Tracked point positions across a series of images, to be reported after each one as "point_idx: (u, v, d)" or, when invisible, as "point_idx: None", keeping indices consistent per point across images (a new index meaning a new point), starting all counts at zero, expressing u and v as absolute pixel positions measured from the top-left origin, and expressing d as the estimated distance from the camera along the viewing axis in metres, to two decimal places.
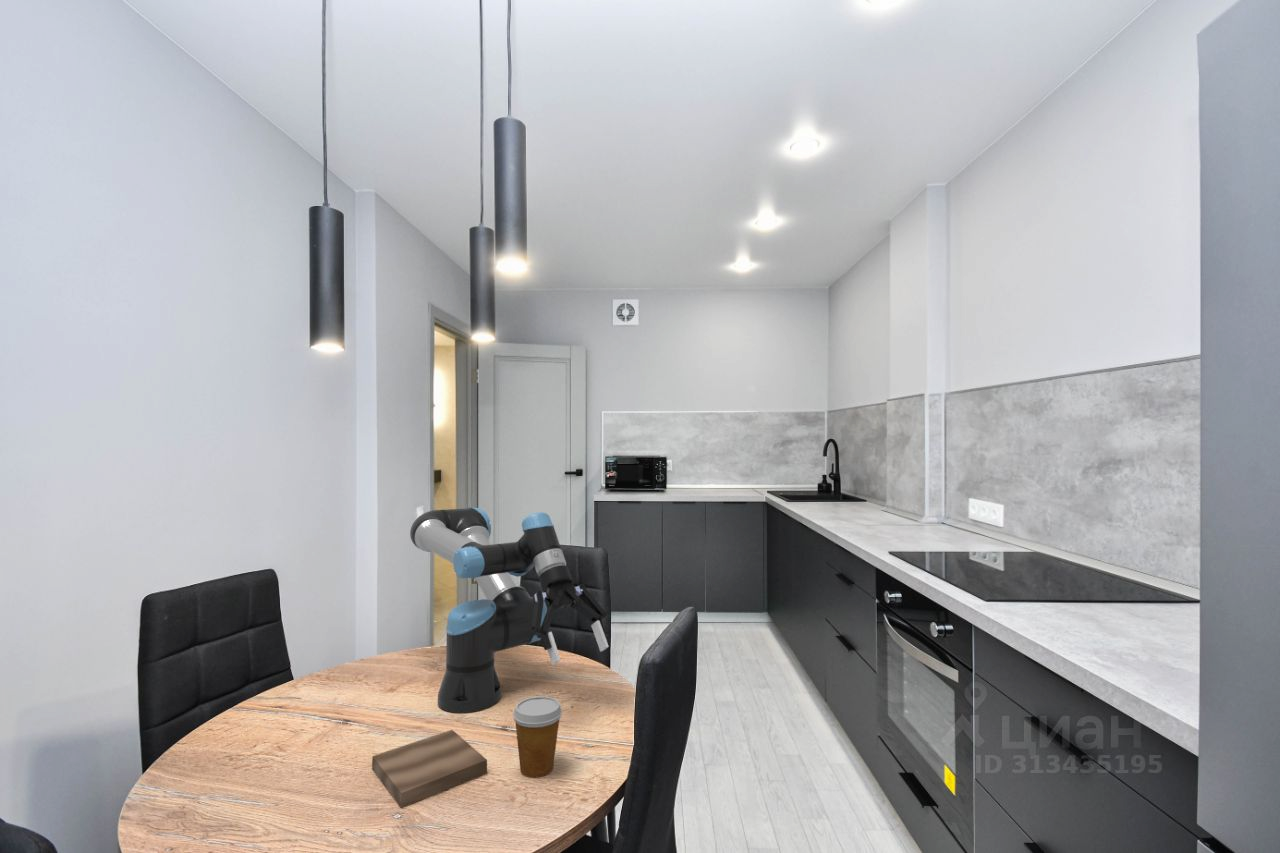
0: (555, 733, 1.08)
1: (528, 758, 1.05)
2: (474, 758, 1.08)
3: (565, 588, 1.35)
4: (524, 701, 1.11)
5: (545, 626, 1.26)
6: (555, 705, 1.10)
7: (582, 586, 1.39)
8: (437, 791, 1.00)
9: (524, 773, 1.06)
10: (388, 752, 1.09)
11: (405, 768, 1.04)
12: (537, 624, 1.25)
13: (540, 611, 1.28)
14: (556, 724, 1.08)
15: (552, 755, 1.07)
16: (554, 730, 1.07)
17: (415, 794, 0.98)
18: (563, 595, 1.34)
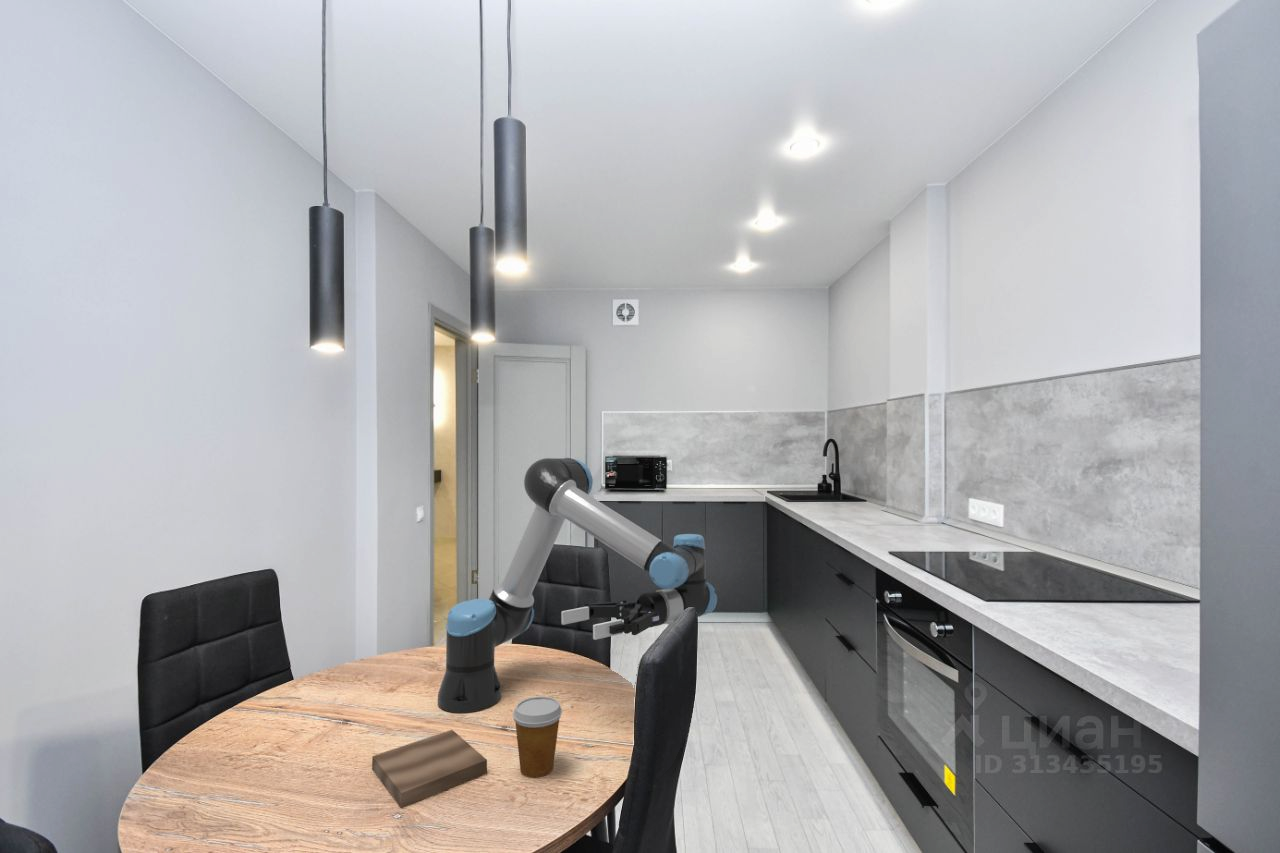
0: (555, 733, 1.08)
1: (528, 758, 1.05)
2: (474, 758, 1.08)
3: None
4: (524, 701, 1.11)
5: None
6: (555, 705, 1.10)
7: None
8: (437, 791, 1.00)
9: (524, 773, 1.06)
10: (388, 752, 1.09)
11: (405, 768, 1.04)
12: None
13: None
14: (556, 724, 1.08)
15: (552, 755, 1.07)
16: (554, 730, 1.07)
17: (415, 794, 0.98)
18: None
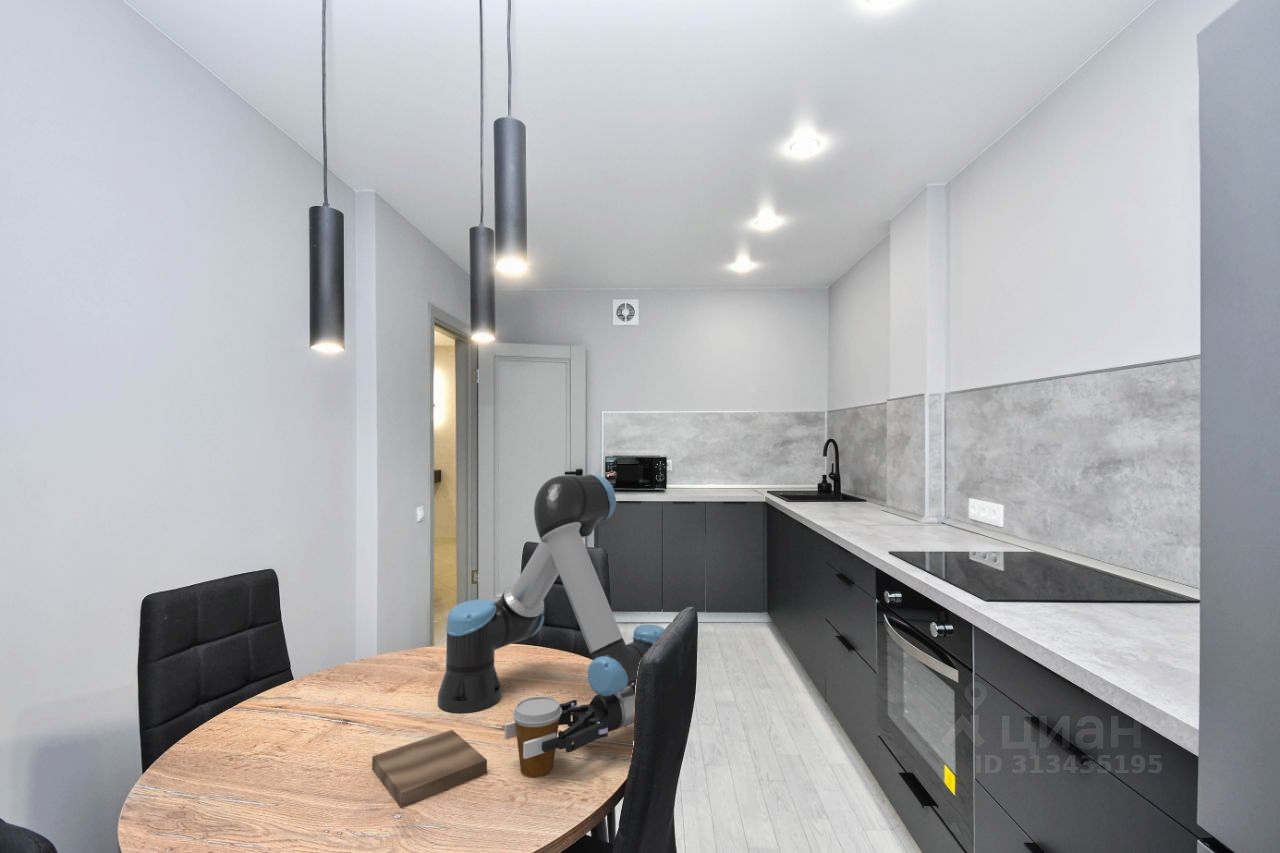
0: None
1: None
2: (474, 758, 1.08)
3: None
4: (524, 701, 1.12)
5: None
6: (555, 705, 1.10)
7: None
8: (437, 791, 1.00)
9: (524, 773, 1.06)
10: (388, 752, 1.09)
11: (405, 768, 1.04)
12: None
13: None
14: (556, 724, 1.08)
15: (552, 755, 1.07)
16: (554, 729, 1.07)
17: (415, 794, 0.98)
18: None
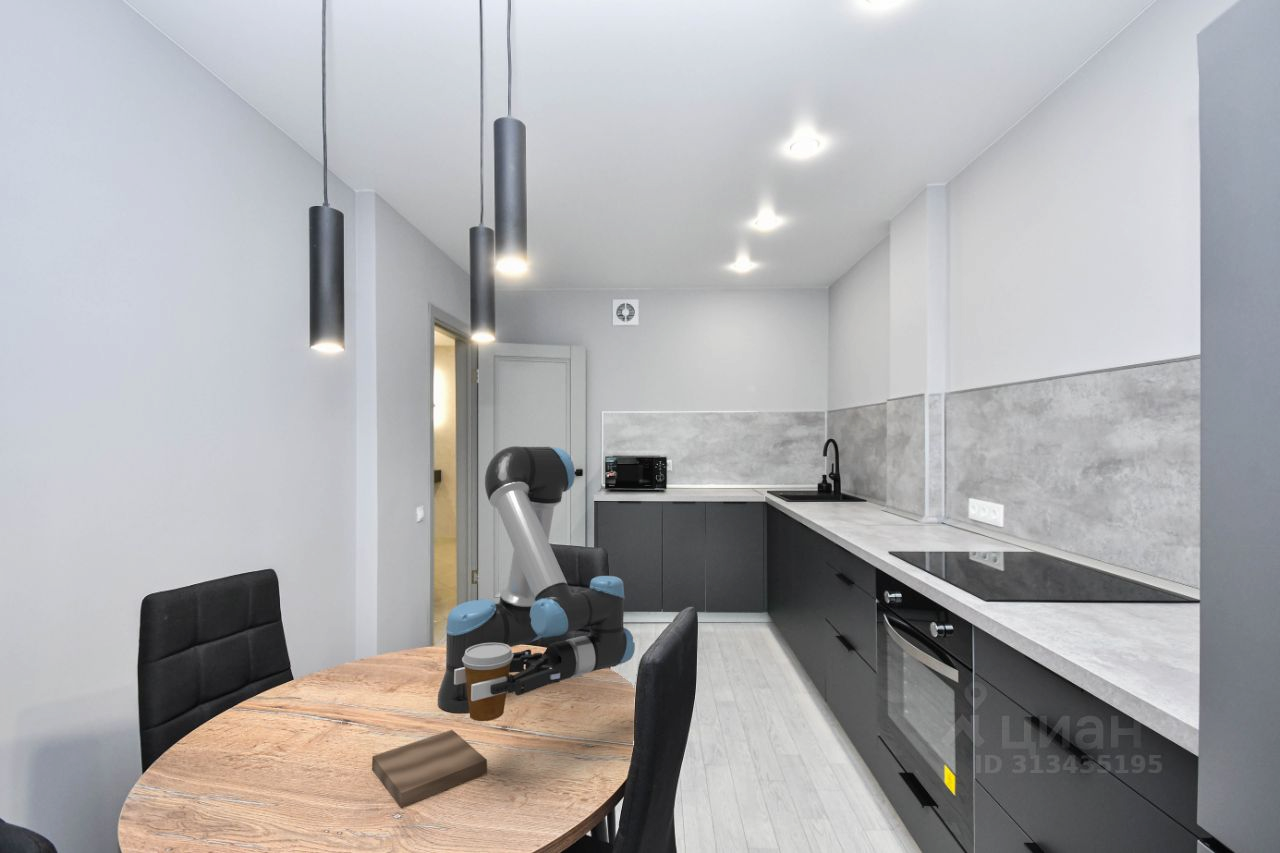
0: None
1: (477, 701, 1.03)
2: (474, 758, 1.08)
3: None
4: (475, 647, 1.09)
5: None
6: (506, 650, 1.08)
7: None
8: (437, 791, 1.00)
9: (473, 717, 1.04)
10: (388, 752, 1.09)
11: (405, 768, 1.04)
12: None
13: None
14: (506, 668, 1.06)
15: (502, 699, 1.05)
16: (504, 673, 1.05)
17: (415, 794, 0.98)
18: None
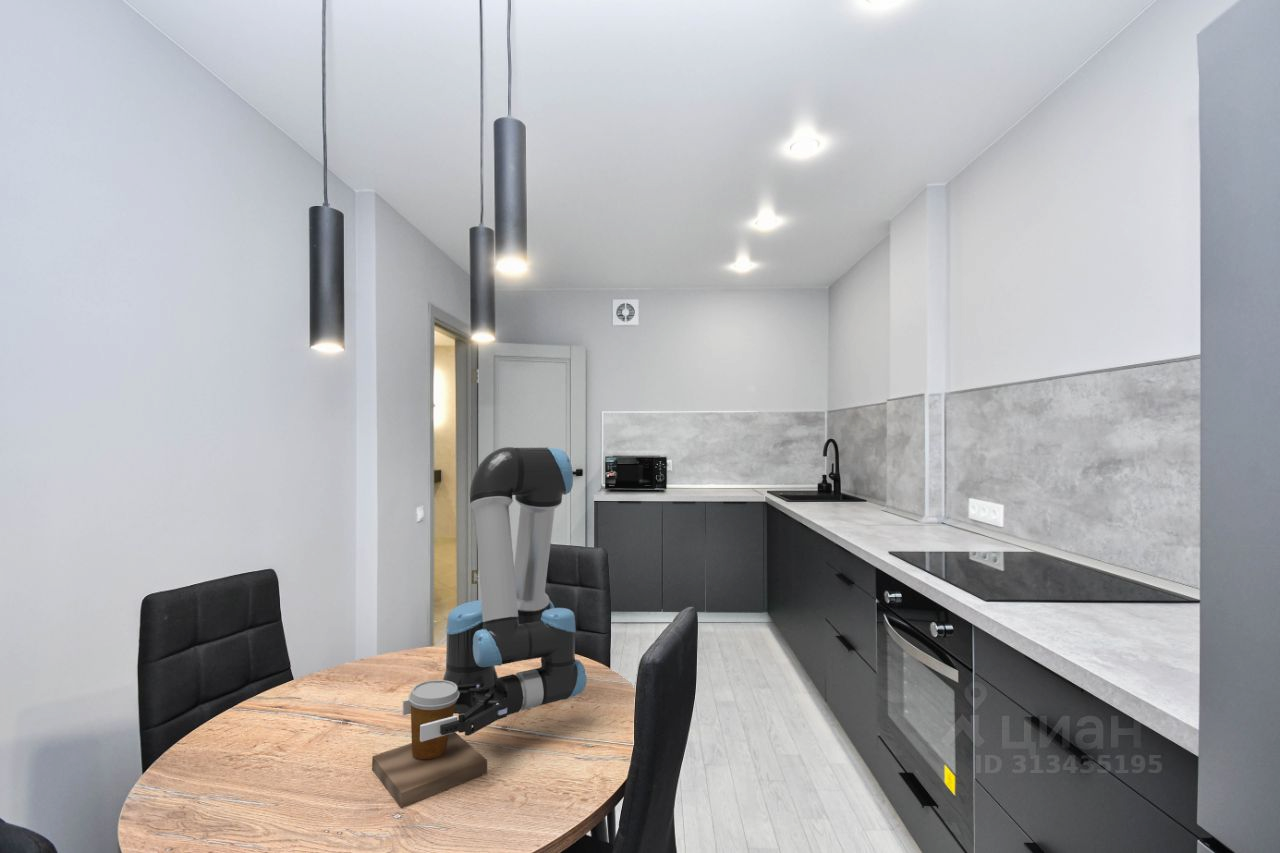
0: None
1: (419, 739, 1.07)
2: (474, 758, 1.08)
3: None
4: (424, 683, 1.13)
5: None
6: (453, 690, 1.11)
7: None
8: (437, 791, 1.00)
9: (414, 754, 1.07)
10: (388, 752, 1.09)
11: (405, 768, 1.04)
12: None
13: None
14: (450, 708, 1.09)
15: (444, 738, 1.09)
16: (448, 714, 1.08)
17: (415, 794, 0.98)
18: None
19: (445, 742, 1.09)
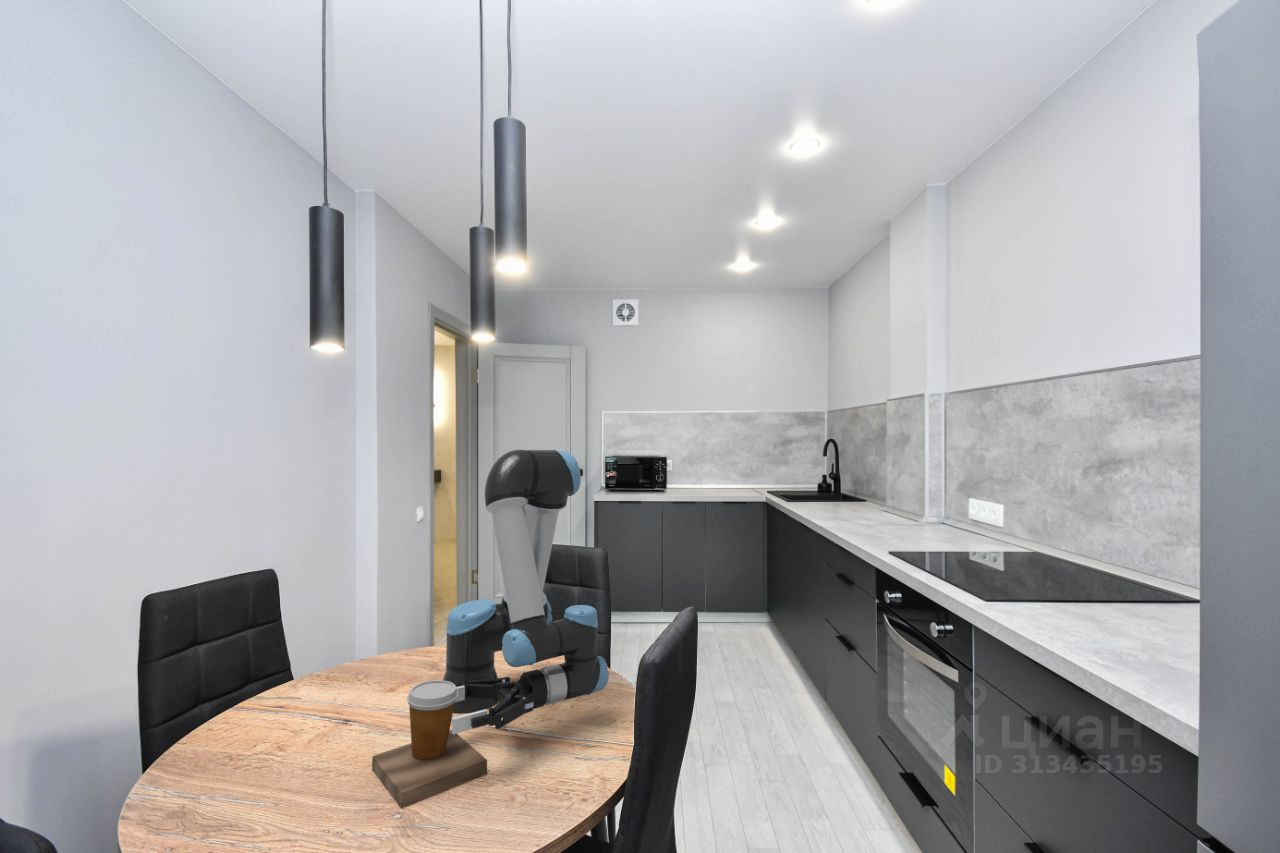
0: (448, 717, 1.09)
1: (418, 740, 1.07)
2: (474, 758, 1.08)
3: None
4: (422, 684, 1.13)
5: None
6: (451, 690, 1.11)
7: None
8: (437, 791, 1.00)
9: (414, 754, 1.07)
10: (388, 752, 1.09)
11: (405, 768, 1.04)
12: None
13: None
14: (449, 708, 1.09)
15: (443, 738, 1.09)
16: (446, 714, 1.08)
17: (415, 794, 0.98)
18: None
19: (445, 742, 1.09)
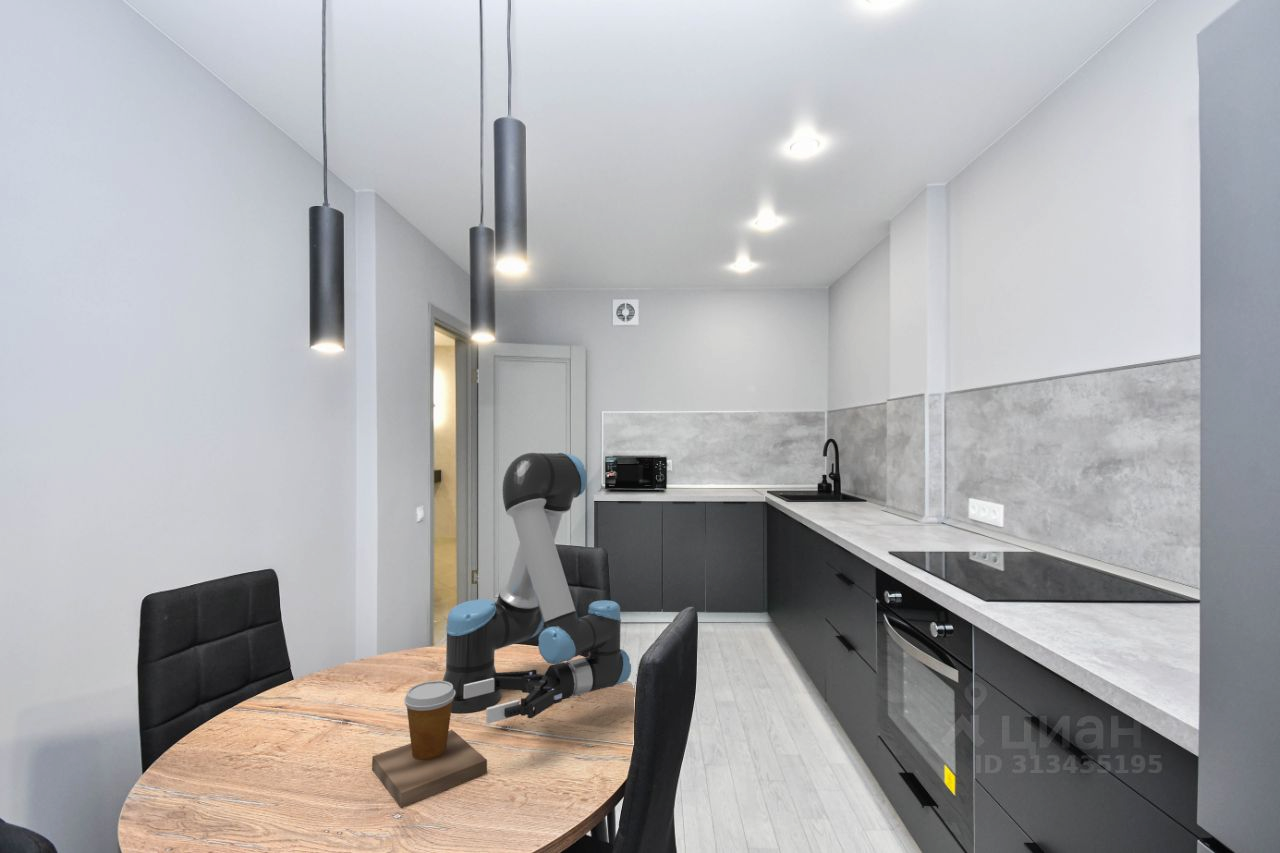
0: (445, 717, 1.09)
1: (417, 740, 1.07)
2: (474, 758, 1.08)
3: None
4: (420, 685, 1.13)
5: None
6: (448, 689, 1.11)
7: None
8: (437, 791, 1.00)
9: (414, 755, 1.07)
10: (388, 752, 1.09)
11: (405, 768, 1.04)
12: None
13: None
14: (446, 708, 1.09)
15: (442, 738, 1.09)
16: (444, 713, 1.08)
17: (415, 794, 0.98)
18: None
19: (444, 742, 1.09)
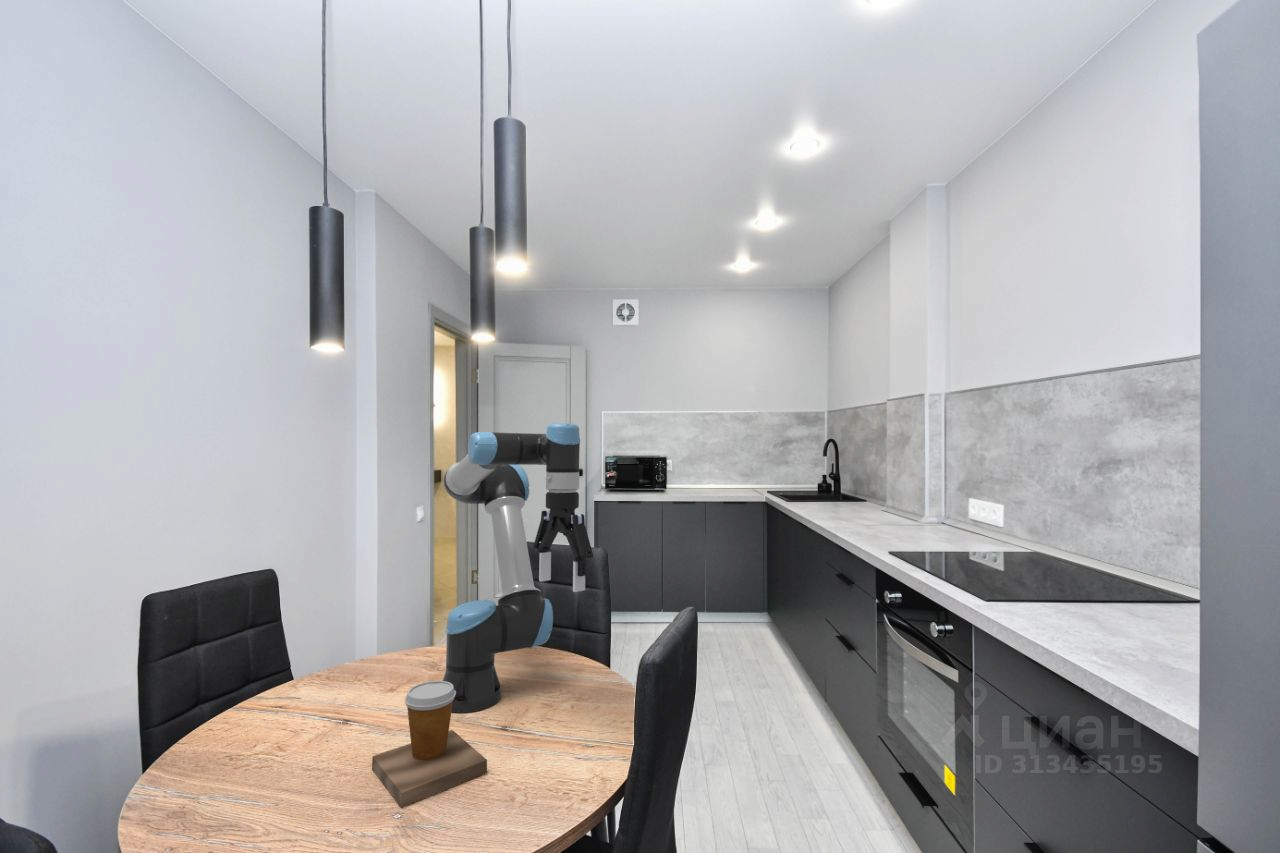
0: (446, 717, 1.09)
1: (417, 740, 1.07)
2: (474, 758, 1.08)
3: (560, 515, 1.25)
4: (420, 685, 1.13)
5: (539, 546, 1.31)
6: (449, 689, 1.11)
7: (573, 518, 1.21)
8: (437, 791, 1.00)
9: (414, 755, 1.07)
10: (388, 752, 1.09)
11: (405, 768, 1.04)
12: (535, 542, 1.32)
13: (539, 531, 1.31)
14: (446, 708, 1.09)
15: (442, 738, 1.09)
16: (444, 713, 1.08)
17: (415, 794, 0.98)
18: None
19: (444, 742, 1.09)
